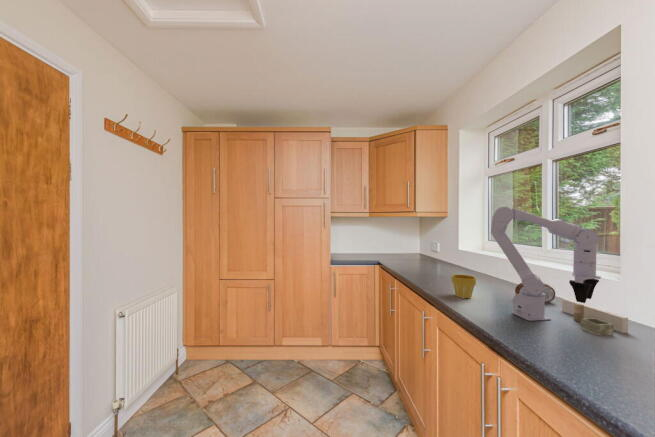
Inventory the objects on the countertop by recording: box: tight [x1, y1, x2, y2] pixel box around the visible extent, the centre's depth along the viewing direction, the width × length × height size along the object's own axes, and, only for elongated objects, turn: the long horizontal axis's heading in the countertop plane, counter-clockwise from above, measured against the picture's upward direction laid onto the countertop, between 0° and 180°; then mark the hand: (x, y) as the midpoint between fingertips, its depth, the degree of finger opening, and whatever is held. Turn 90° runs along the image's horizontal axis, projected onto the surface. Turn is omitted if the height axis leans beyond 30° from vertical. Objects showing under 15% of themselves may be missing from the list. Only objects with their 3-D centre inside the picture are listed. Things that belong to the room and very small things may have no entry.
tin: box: [514, 282, 556, 304], centre depth 118 cm, size 15×3×8 cm, turn 77°
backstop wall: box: [561, 298, 629, 334], centre depth 96 cm, size 2×20×5 cm, turn 6°
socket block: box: [580, 318, 614, 337], centre depth 87 cm, size 5×5×4 cm
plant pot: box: [451, 273, 477, 299], centre depth 125 cm, size 10×10×10 cm
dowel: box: [573, 303, 584, 323], centre depth 96 cm, size 3×3×6 cm
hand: (583, 300), depth 92 cm, fingers open, 7 cm apart
